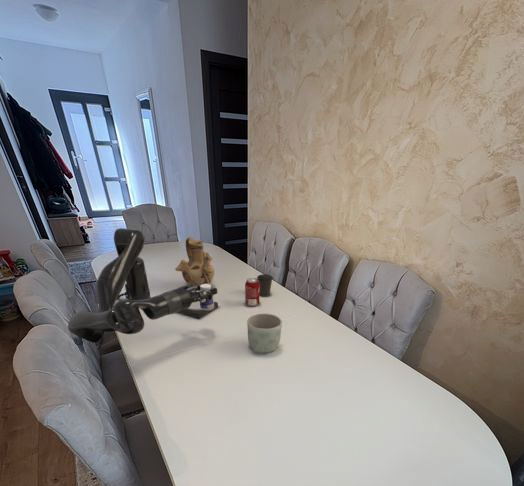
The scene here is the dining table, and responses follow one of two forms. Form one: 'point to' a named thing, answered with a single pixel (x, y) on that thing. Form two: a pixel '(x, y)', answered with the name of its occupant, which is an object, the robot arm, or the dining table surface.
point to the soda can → (252, 292)
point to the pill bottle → (209, 304)
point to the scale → (197, 310)
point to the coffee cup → (265, 284)
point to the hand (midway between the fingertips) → (211, 288)
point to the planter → (264, 332)
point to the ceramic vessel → (196, 264)
